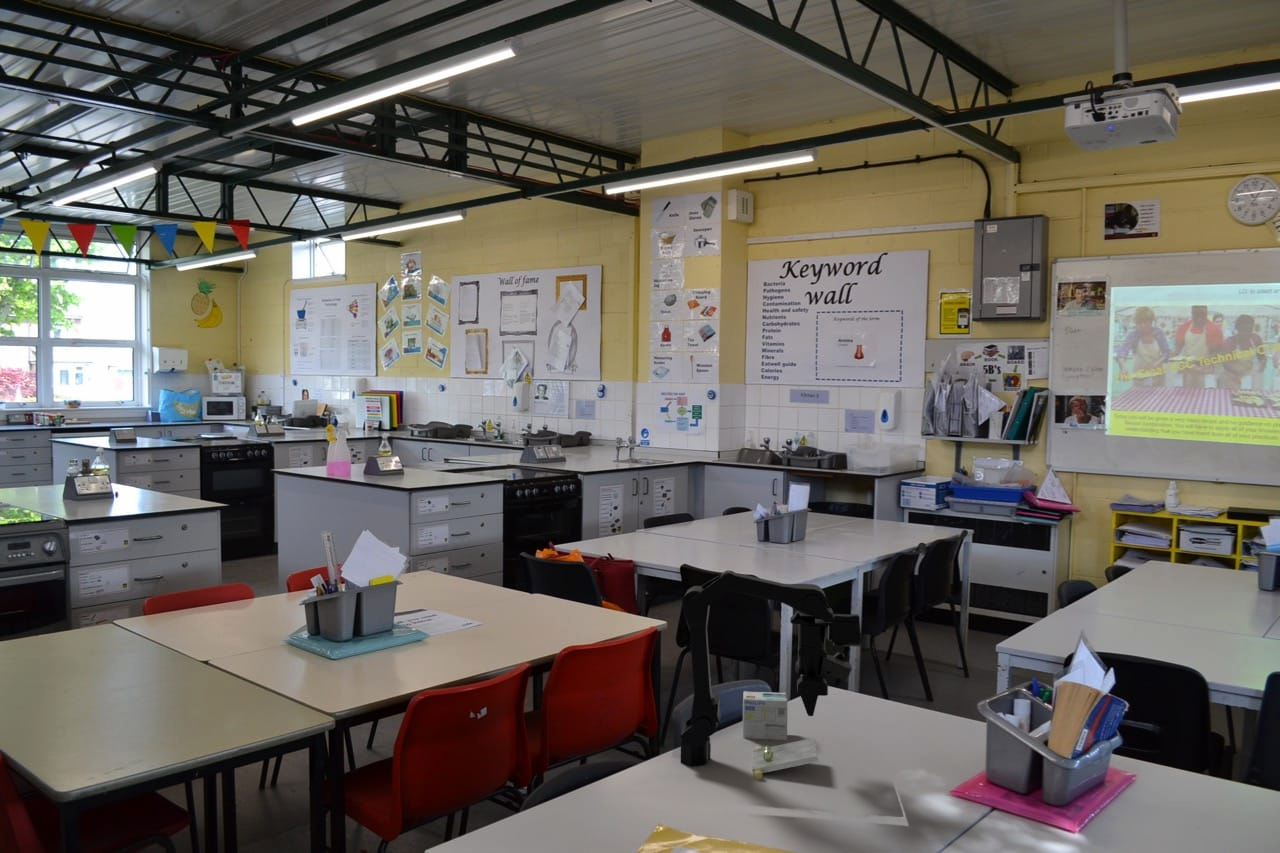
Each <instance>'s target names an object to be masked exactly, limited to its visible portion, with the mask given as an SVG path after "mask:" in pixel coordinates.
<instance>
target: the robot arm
mask: <svg viewBox="0 0 1280 853" xmlns="http://www.w3.org/2000/svg"><path fill="white" fill-rule="evenodd" d="M730 592H734V593H738V594H742V595H747V596H753V597H756V598H761V599H764V600H769V601H773V602H777V603H781V604H783V605H787V607H790V608H792V609H794V610H796V612H795V613H794V614H793V615H792V616H791V617H790V620H789V622H790V624H791V625H793V624H794V625H798V638H797V640H798V642H797V643H798V645H797V661H796V662H795V673H796V674H797V675H800V677H799V678H796V686H797V687H796V688H797V689H796V691H797V694H798V695H799V696H800V698H801V700H802V703H803V706H804V708H805V711H806V714H807V716H808V717H814V714H815V709H816V707H817V706H816V705H817V703H818V702H817V701H818V697H819V696H821V697H823V696H824V697H826V696H829V685H828V681H827V680H826V679H825V678H824V677H828V675H830V676H832V677H834V678H837V679H839V680H840V681H842V682H845V683H847V682H848V681H849V677H850V675H851V672H852V670H853V667H852V664H851V663H850V662H849V661H846V656H845V654H844V653H841V652H839V651H838V652H836V653H835V654H834V655H832V654H831V655H830V654H828V652H827V648H826V626H827V639H828V641H831V643H832V644H833V646H838V647H839V646H840V647H855V648H856V647H857V648H859V647H861V646H862V645H861V642H862V632H861V623H860V618H861V617H860V614H858V613H851V614H843V613H842V614H841V613H834V611H833V608H831V607H830V605H829V604H828V603H827V598H826V594H825V592H824V590H823V588H821V587H820V586H819V585H817V584H813V583H782V582H779V581H773V580H771V579H766V578H760V577H756V576H752V575H748V574H742V573H738V572H736V571H735V572H734V571H733V570H729V569H727V570H725V571H723V572H722V573H721V574H719V575H718V576H716V577H714V578H712V579H711V580H709V581H707V582H706V583H704V584H702V585H693V586H692V587H690V588H688V589H687V591H686V593H685V594H684V596H683V598H682V603H681V605H682V611H683V615H684V618H685V621H686V624H687V628H688V631H689V637H690V638H689V639H690V652H691V654H690V655H691V667H692V668H691V669H692V681H693V700H692V706H691V707H692V709H691V716H690V717H689V718H688V719H687V720H686V721H685V722H684V724H683V727H682V730H681V734H680V739H681V740H680V764H682V765H685V766H688V767H690V768H693V767H703V766H705V765H707V764H708V763H709V761H710V760H711V751H712V750H711V749H712V748H711V736H713V735H714V733H715V732H716V731H717V728H718V724H720V723H721V717H722V711H721V707H720V701H721V700H720V699H721V696H714V693H713V690H712V683H711V682H712V679H711V666H710V665H711V664H710V652H709V636H708V624H709V616H710V607H711V605H712V604H714V603H716V602H717V601H718V600H719V599H721V598H722V597H724V596H725V595H727V594H728V593H730ZM802 613H803V614H802ZM816 617H817V618H816ZM827 674H828V675H827Z"/></svg>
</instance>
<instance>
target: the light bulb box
mask: <svg viewBox="0 0 1280 853" xmlns="http://www.w3.org/2000/svg"><path fill="white" fill-rule="evenodd" d="M742 738H743V739H757V740H777V741H779V740H780V741H781V740H782V741H787V740H788V697H787V693H786V692H772V691H771V692H768V691H764V692H763V691H747V690H745V691H743V698H742Z"/></svg>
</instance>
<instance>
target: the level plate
mask: <svg viewBox="0 0 1280 853" xmlns="http://www.w3.org/2000/svg"><path fill="white" fill-rule="evenodd" d="M817 762H819V759H818V751H817V742H816V738H815V737H810V738H806V739H801V740H797V741H792V742H787V743H782V744H778V745H774V746H770V745H768V744H767V745H764V747H763V749H759V750H752V765H751V767H752V768H751V770H752V774H753V776H754V771H756V770H759V771H762V772H763V774H764V773H771V772H774V771H781V770H783V769H789V768H793V767H794V768H795V767H798V766H803V765H807V764H812V763H817Z"/></svg>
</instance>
